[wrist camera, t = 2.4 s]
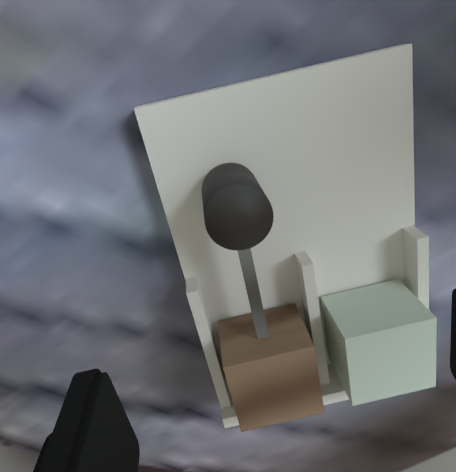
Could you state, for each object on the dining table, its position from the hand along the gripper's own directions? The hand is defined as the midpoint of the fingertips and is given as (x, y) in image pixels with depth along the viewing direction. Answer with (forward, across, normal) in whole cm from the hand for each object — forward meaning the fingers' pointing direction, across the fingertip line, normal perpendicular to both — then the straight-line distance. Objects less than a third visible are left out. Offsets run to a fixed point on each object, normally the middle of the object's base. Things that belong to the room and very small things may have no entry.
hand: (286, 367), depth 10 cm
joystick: (+16, 0, +7) cm, 18 cm away
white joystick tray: (+18, -4, +6) cm, 20 cm away
